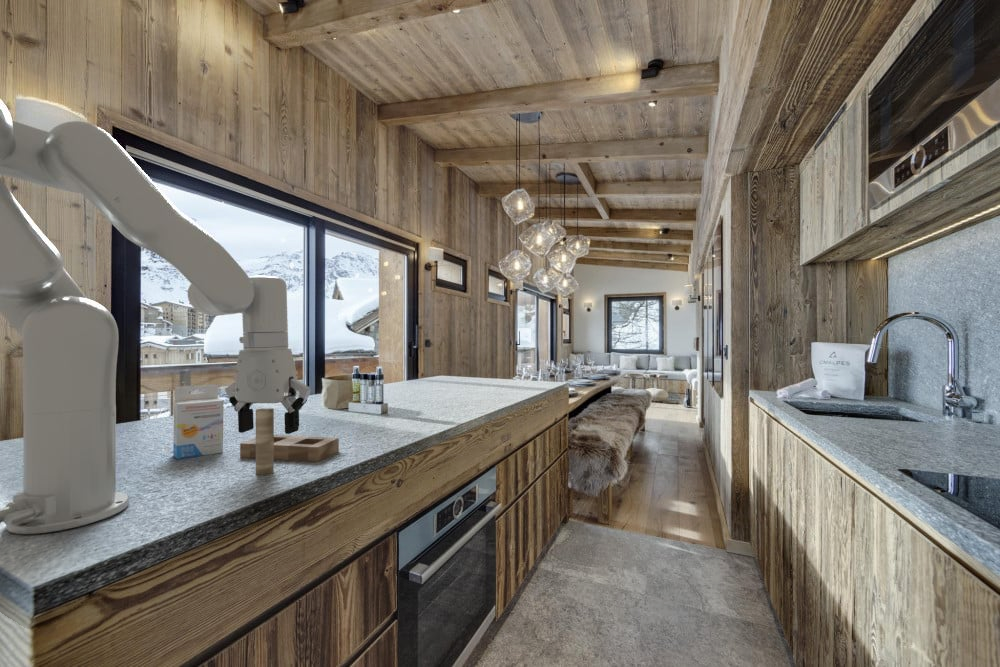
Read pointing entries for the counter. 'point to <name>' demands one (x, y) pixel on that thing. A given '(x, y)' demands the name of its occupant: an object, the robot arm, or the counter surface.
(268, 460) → the peg
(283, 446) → the socket block
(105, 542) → the counter surface
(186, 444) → the ink box
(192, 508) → the counter surface
